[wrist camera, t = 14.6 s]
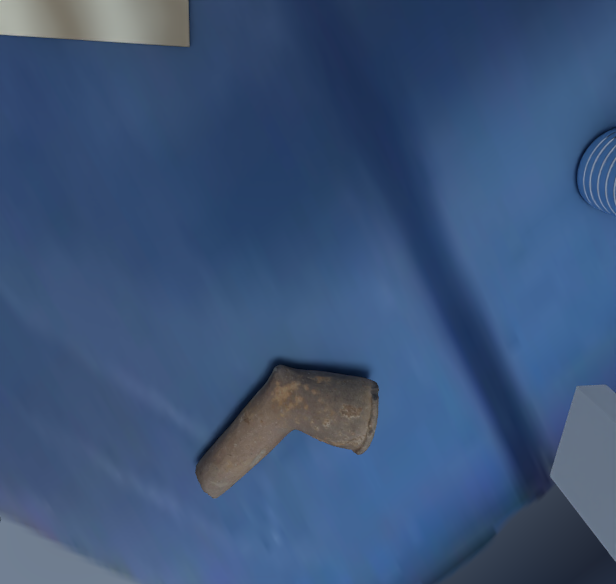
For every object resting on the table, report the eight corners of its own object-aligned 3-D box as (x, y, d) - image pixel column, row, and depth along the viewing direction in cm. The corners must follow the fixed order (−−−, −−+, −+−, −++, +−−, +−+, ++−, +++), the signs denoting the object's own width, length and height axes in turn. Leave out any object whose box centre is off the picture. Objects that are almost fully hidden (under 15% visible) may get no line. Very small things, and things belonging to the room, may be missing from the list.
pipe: (175, 499, 44) (274, 560, 46) (310, 347, 41) (408, 421, 43) (187, 453, 50) (273, 509, 53) (305, 318, 47) (391, 384, 50)
